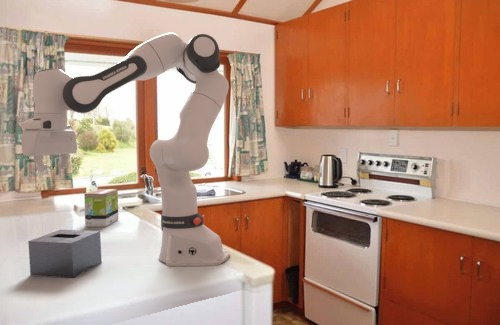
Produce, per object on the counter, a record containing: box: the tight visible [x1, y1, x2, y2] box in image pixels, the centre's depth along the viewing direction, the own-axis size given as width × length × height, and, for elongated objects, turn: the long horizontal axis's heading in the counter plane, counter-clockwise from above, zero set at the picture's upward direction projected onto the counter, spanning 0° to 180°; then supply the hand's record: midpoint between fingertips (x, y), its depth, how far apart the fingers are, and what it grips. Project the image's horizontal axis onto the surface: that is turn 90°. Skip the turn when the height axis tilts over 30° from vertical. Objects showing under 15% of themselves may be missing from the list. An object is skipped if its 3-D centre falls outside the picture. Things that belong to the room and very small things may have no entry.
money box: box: [27, 229, 102, 279], centre depth 125 cm, size 14×14×10 cm
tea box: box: [84, 188, 119, 228], centre depth 187 cm, size 15×10×15 cm
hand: (52, 170), depth 125 cm, fingers open, 8 cm apart
